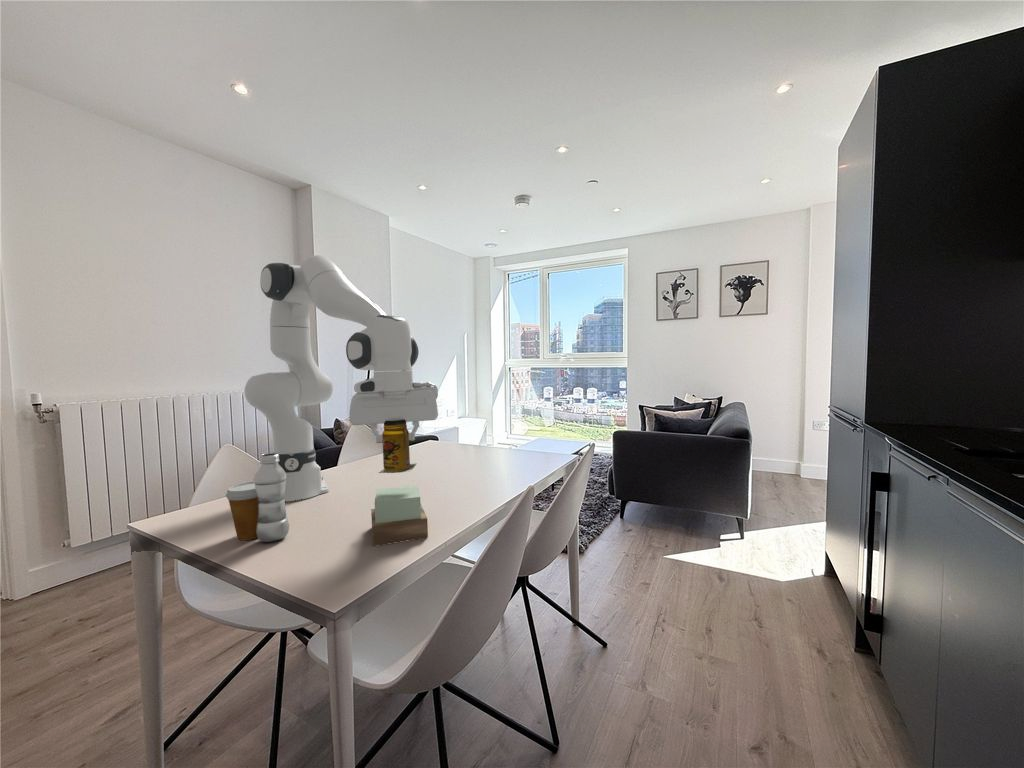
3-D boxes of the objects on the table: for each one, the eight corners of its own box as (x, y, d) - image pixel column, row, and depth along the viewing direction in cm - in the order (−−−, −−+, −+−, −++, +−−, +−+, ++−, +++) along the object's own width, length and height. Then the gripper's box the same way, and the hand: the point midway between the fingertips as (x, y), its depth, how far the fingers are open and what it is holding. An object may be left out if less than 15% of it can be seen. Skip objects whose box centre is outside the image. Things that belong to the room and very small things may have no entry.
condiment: (377, 473, 95) (375, 421, 95) (388, 465, 104) (386, 417, 103) (409, 473, 95) (407, 420, 95) (417, 464, 104) (416, 416, 103)
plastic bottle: (293, 539, 97) (290, 454, 96) (260, 548, 92) (257, 459, 92) (284, 531, 102) (281, 450, 101) (252, 540, 97) (249, 455, 96)
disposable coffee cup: (281, 533, 100) (277, 484, 100) (235, 547, 93) (231, 494, 93) (268, 524, 107) (265, 478, 106) (224, 536, 100) (220, 487, 99)
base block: (372, 529, 103) (371, 509, 103) (421, 521, 107) (420, 502, 107) (373, 548, 92) (372, 526, 92) (428, 539, 96) (427, 518, 96)
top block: (377, 509, 103) (376, 489, 103) (418, 504, 106) (418, 485, 105) (375, 523, 93) (374, 501, 93) (421, 518, 96) (420, 496, 96)
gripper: (435, 381, 105) (437, 436, 106) (348, 384, 98) (350, 442, 99) (439, 382, 99) (441, 440, 100) (347, 385, 92) (350, 447, 93)
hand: (395, 441), depth 99 cm, fingers closed on condiment, 6 cm apart
